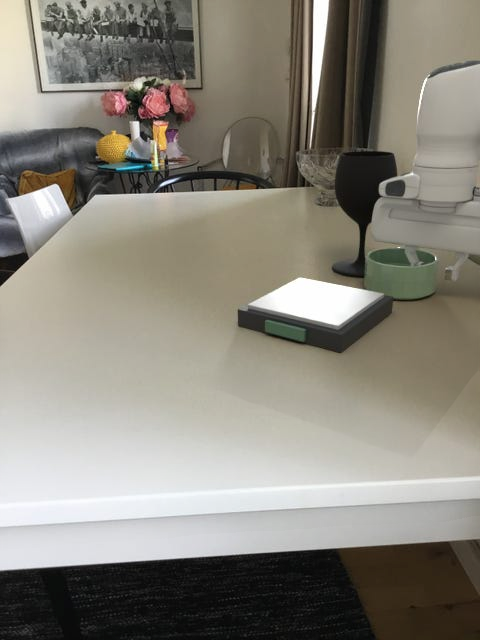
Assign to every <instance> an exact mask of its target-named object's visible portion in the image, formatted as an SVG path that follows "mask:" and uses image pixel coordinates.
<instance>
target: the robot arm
mask: <svg viewBox="0 0 480 640" xmlns="http://www.w3.org/2000/svg"><path fill="white" fill-rule="evenodd" d="M415 127H416V128H415V135H416V140H417V141H416V142H417V148H416V153H415V156H414V159H413V162H412V171H411V172H410V171H409V172H404V173H402V174H400V175H397V177H393V178H390V179H388V180H385V181H383V182H382V183H380V185H379V194H380V195H381V196H383V197H381V198H379V199H378V200H377V202H376V203H375V206H374V210H373V215H372V222H371V223H370V236H371V237H372V239H373V240H374V242H376V243H377V242H378V243H385V244H393V245H398V246H399V245H401V246H404V248H405V254H406V256H407V258H408V260H409V262H410V263H411V266H419V265H424V262H421V261H419V259H418V257H417V254H416V252H415V251H417V250H418V249H420V248H421V249H423V248H424V249H431V250H437V251H442V252H443V251H445V252H450V253H454V259H455V260H457V261H456V263H455V264H454V265H448V267H446V268H445V271H444V272H445V275H444V279H445V280H447V281H453V282H456V281H457V280H458V278H459V273H460V272H459V271H460V268H461V267H462V266H463V264H464V263H466V261H467V260H468V258H469V256H470V255H472V256H473V255H474V256H480V187H477V181H478V173H479V167H480V166H479V165H480V60H477V59H476V60H466V61H463V62H456V63H452V64H447V65H444V66H440V67H437V68H435V69H434V70H432V71H431V72H430V73H429V74H428V75H427V76H426V78H425V79H424V81H423V85H422V89H421V93H420V98H419V104H418V110H417V118H416V126H415Z"/></svg>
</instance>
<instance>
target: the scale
mask: <svg viewBox="0 0 480 640" xmlns="http://www.w3.org/2000/svg"><path fill="white" fill-rule="evenodd" d="M393 305H394V299H393V297H392V296H387V295H384V293H378V292H373V291H368V290H367V289H363V288H356V287H351V286H348V285H347V286H346V285H340V284H336V283H331V282H326V281H320V280H316V279H315V280H314V279H310V278H304V277H298V278H296V279H293V280H292V281H290V282H288V283H286V284H284V285H282V286H280V287H278V288H276V289H274V290H272V291H271V292H269V293H267V294H265V295H263V296H260V297H259V298H257V299H254V300H253V301H251V302H249V303H247V304H246V305H244V306H243V305H242V306H241V307H239V308H237V326H238V327H241V328H245V329H249V330H253V331H255V332H260V333H263V334H264V333H265V334H267V335H271V336H274V337H278V338H279V337H280V338H283V339H287V340H290V341H294V342H297V343H301V344H305V345H309V346H313V347H317V348H319V349H324V350H328V351H331V352H332V351H333V352H336V353H340V354H341V353H343V352H344V351H346V350H347V349H348V348H350V347H351V346H352V345H353V344H354V343H356V342H357V341H358V340H359V339H361V338H362V337H363V336H364V335H366V334H367V333H368V332H370V331H371V330H372V329H373V328H375V327H376V326H377V325H378V324H380V323H381V322H382V321H383V320H385V319H386V318H388V317H389V316H390V315H392V313H393Z"/></svg>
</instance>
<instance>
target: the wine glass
mask: <svg viewBox="0 0 480 640" xmlns="http://www.w3.org/2000/svg"><path fill="white" fill-rule="evenodd" d="M397 167H398V166H397V161H396V156H395V153H394V152H392V151H381V150H359V151H358V150H357V151H356V150H355V151H347V152H342V153H340V154H339V158H338V161H337V165H336V169H335V174H334V194H335V198H336V201H337V204H338V205H339V208H340V209H341V210H342V211H343V212H344V214H345V215H347V216H348V218H350V219H351V220H352V221H353V222H354V223H356V224H357V227H358V230H359V231H358V233H359V243H358V244H359V245H358V253H357V258H347V259H340V260H338V261H335V262H334V263H333V264H332V265H331V269H332V271H333V272H334V273H335V274H337V275H340V274H341V275H340V276H345V277H349V276H350V278H358V277H359V279H360V278H361V279H364V276H365V259H366V237H367V230H368V227H369V225H371V222H372V215H373V210H374V206H375V203H376V202H377V200H378V199H379V198H381V197H383V196H381V195H380V194H379V185H380V183H382V182H383V181H385V180H388V179H390V178H393V177H397V176H398V168H397Z"/></svg>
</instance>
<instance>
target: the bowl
mask: <svg viewBox="0 0 480 640" xmlns="http://www.w3.org/2000/svg"><path fill="white" fill-rule="evenodd" d="M415 252H416V254H417V257H418V259H419V261H421V262H424V265H419V266H411V263H410V262H409V260H408V258H407V256H406V254H405V247H400V246H399V247H397V246H396V247H395V246H394V247H382V248H377V249H373V250H370V251H368V252H366V253H365V258H366V259H365V276H364V278H363V287H364V288H365V290H368V291H373V292H378V293H384V295H387V296H392V297H393V300H398V301H409V300H410V301H411V300H412V301H413V300H417V299H418V300H419V299H422V298H426V297H428V296H431V295H432V294H434V293H435V292H436V289H437V279H438V268H439V256H438V255H437V254H436V253H433V252H431V251H428V250H424V249H420V248H418V250H417V251H415Z"/></svg>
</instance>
